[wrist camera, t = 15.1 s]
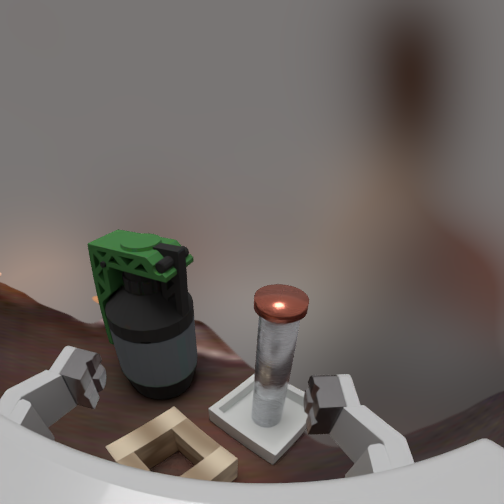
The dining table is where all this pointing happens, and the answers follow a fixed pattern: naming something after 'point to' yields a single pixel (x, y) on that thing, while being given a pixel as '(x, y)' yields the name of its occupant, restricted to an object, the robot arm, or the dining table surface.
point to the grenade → (147, 309)
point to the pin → (275, 348)
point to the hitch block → (175, 448)
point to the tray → (250, 434)
